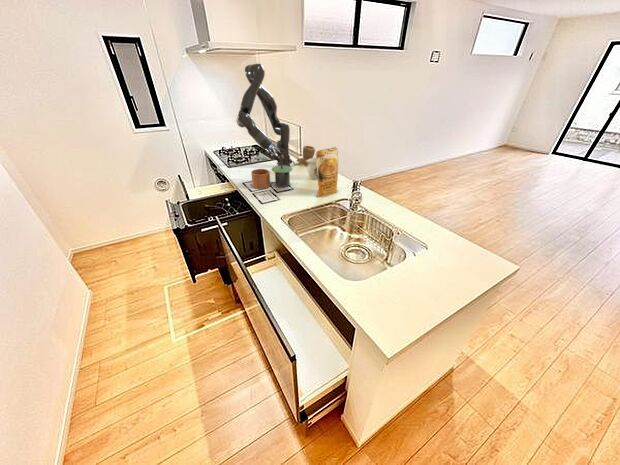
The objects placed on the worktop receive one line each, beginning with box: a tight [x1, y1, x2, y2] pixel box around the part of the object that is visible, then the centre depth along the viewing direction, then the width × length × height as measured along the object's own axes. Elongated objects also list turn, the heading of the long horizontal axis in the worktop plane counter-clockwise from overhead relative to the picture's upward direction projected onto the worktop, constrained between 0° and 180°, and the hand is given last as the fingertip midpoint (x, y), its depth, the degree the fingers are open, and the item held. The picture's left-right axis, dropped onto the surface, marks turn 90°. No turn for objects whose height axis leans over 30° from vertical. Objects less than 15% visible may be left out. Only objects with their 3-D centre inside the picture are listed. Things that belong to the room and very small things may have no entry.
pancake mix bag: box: [315, 146, 339, 198], centre depth 158 cm, size 7×19×28 cm, turn 127°
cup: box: [274, 171, 291, 188], centre depth 173 cm, size 10×10×10 cm
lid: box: [271, 155, 293, 173], centre depth 168 cm, size 14×14×10 cm
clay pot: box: [250, 168, 271, 190], centre depth 171 cm, size 12×12×10 cm
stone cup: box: [296, 145, 316, 167], centre depth 211 cm, size 15×12×15 cm
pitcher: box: [306, 157, 318, 181], centre depth 185 cm, size 11×18×14 cm, turn 124°
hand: (281, 159), depth 167 cm, fingers open, 8 cm apart
